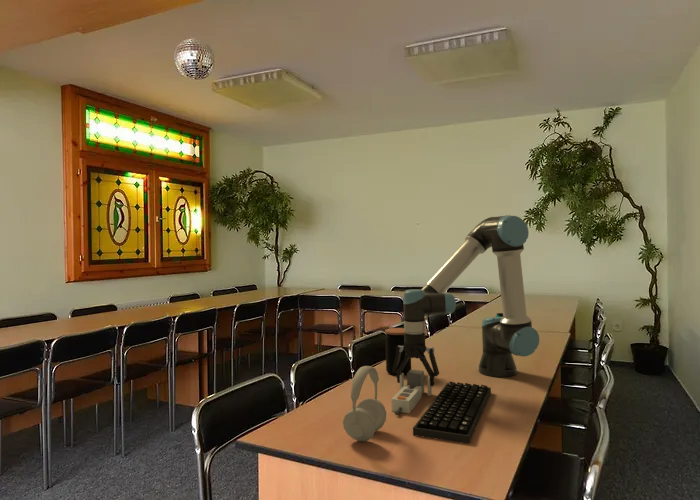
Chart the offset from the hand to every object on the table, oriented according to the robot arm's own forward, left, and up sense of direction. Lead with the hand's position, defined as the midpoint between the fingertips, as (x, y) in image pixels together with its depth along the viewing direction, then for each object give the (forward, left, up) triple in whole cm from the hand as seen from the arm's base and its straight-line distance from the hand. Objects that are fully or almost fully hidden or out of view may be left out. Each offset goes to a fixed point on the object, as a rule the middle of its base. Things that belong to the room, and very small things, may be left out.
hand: (415, 393), depth 171 cm
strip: (0, +13, 0) cm, 13 cm away
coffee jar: (+14, -25, 0) cm, 28 cm away
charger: (0, +2, 0) cm, 2 cm away
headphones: (+4, +40, 0) cm, 41 cm away
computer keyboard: (-17, +13, -1) cm, 21 cm away
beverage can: (-20, -118, 0) cm, 119 cm away
